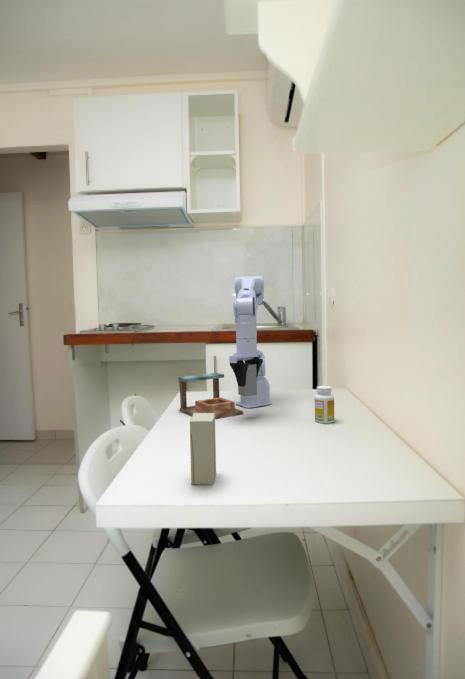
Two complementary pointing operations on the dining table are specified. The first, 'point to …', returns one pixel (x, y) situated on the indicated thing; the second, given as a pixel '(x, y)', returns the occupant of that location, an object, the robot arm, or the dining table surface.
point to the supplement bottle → (324, 405)
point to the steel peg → (249, 382)
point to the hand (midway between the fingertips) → (247, 384)
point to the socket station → (209, 405)
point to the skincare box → (203, 448)
